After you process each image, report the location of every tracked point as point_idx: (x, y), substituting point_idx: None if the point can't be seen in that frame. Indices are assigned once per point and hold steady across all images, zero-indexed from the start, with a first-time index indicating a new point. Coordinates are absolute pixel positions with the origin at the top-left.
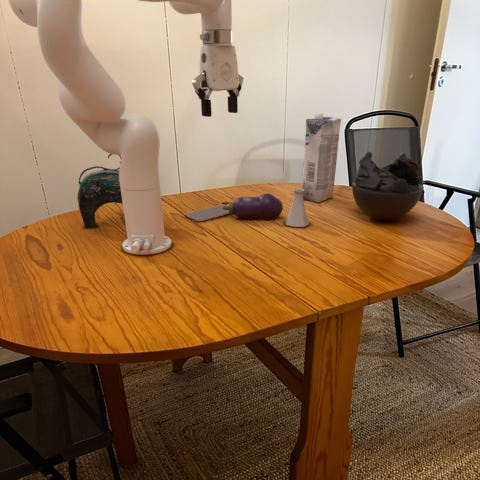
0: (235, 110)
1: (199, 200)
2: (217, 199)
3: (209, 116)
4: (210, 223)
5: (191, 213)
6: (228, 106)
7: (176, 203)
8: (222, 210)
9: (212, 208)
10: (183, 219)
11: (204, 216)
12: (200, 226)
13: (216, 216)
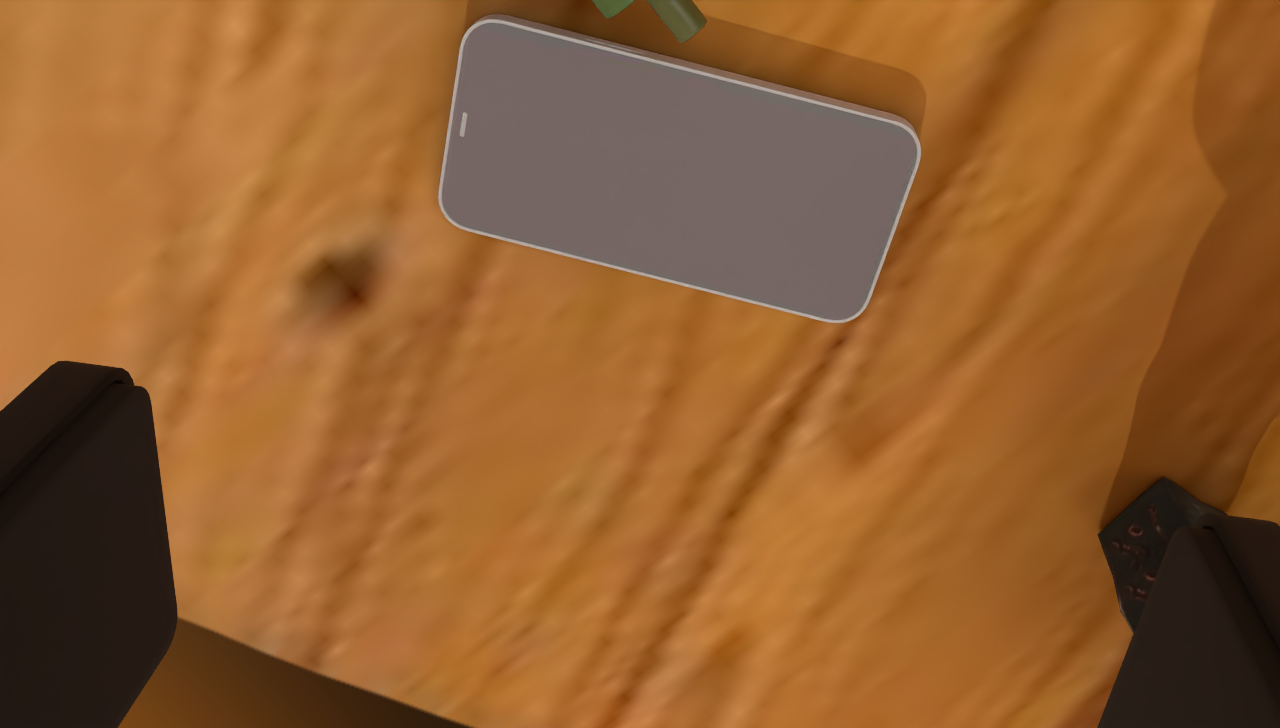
0: (115, 407)
1: (433, 503)
2: (304, 408)
3: (1264, 525)
4: (893, 9)
5: (828, 290)
6: (106, 718)
7: (619, 589)
8: (588, 116)
9: (599, 232)
10: (932, 283)
11: (835, 137)
12: (1019, 28)
13: (728, 73)
